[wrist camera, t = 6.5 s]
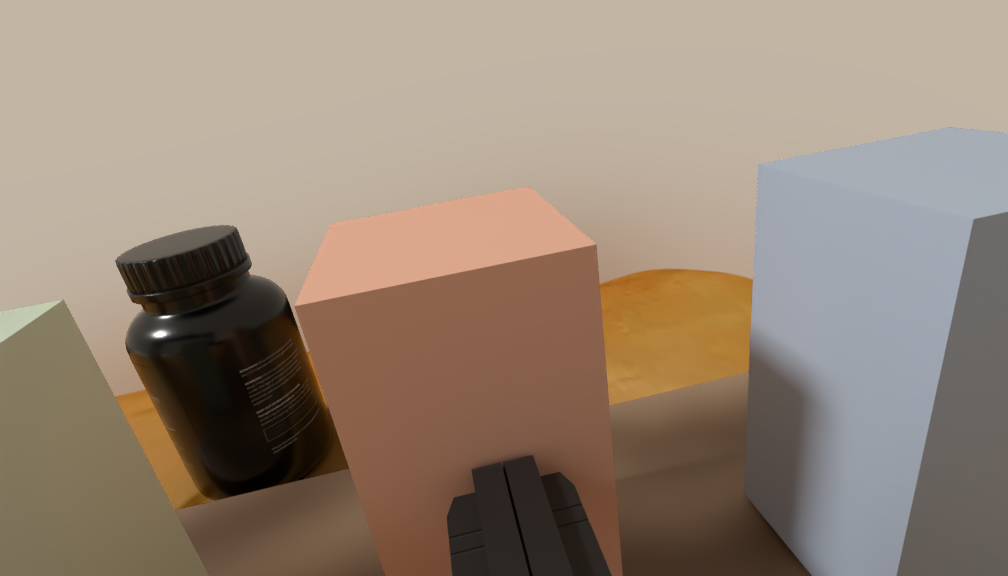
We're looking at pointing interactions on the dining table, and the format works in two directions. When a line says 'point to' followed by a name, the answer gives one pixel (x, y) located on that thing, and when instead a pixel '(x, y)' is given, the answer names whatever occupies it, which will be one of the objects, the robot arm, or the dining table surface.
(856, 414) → the slate block
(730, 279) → the dining table surface
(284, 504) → the wooden board
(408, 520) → the terracotta block
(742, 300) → the dining table surface
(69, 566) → the sage block
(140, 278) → the supplement bottle
